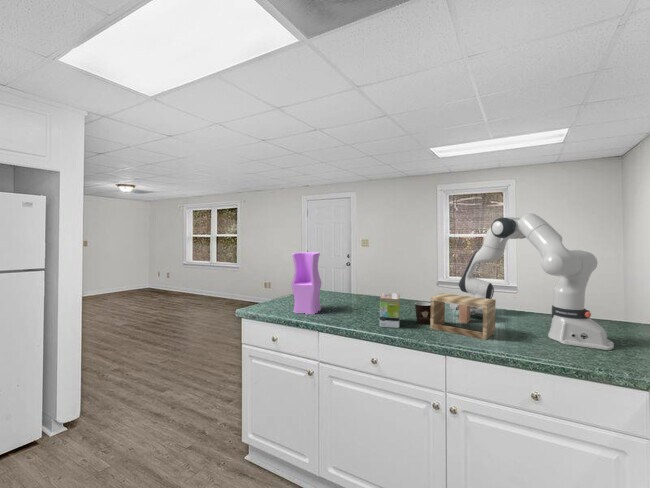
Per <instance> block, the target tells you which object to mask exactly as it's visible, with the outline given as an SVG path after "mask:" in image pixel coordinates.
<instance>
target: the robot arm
mask: <svg viewBox="0 0 650 488" xmlns="http://www.w3.org/2000/svg"><path fill="white" fill-rule="evenodd" d="M525 238H526V239H527V240H528V241H529V243H531V245H533V247H534V248H535V249H536V250H537V251H538V252H539V254H540V256H541V263H540V264H541V268H542V270H543V271H544V272H545V273H546V274H547V275H551V276H555V277H560V279H559V280H558V283H557V284H556V285H555V286H554V288H553V291H552V292H553V294H552V295H553V298H552V306H551V313H550V315H551V318H552V319H551V322H550V323H551V325H550V329H549V331H548V335H547V337H548V338H549V339H552V340H554V341H556V342H559V343H561V344H562V345H568V346H575V347H583V348H590V349H597V350H605V351H610V350H613V349H615V344H614V342H613V341H611V340H610V339H608V334H607V333H606V330H605V329H604V327H602V326H601V325H600V324H598V323H597V322H595V321H594V320H593V319H591V316H592V312H591V311H590V310H588V309H586V308H585V299H586V298H585V296H586V290H587V286H588V283H589V280H590V278H591V275H592V273H593V272H594V271H595V270H596V269H597V267H598V259H597V256H595V255H594V254H593V253H591V252H588V251H584V250H580V249H578V250H576V249H575V250H570V249H568V248H566V247H565V245H564V243H563V237H562V234H560V233H559V232H558V230H555V228H554V227H553V226H552V225H550V224H549V223H548V222H547V221H546V220H545V219H543V218H542V217H540V216H539V215H537V214H536V213H533V212H532V213H527V214H524V215H523V216H521V218H520V217H513V216H512V217H511V216H509V217H508V216H507V217H504V216H503V217H498V218H496V219H495V220H493V222H491V226H490V227H489V229H487V232H486V234H485V236H484V239H483V242H482V246H481V247H480V248H479V250H476V251H475V252H474V253H473V254H472V256H471V257H470V259H469V262H468V264H467V266H466V268H465V271H464V272H463V275H462V276H461V278H460V279H459V283H458V287H459V288H458V289H460V291H461V292H463V293H466V294H470V295H473V297H478V298H486V299H493V297H494V293H495V288H494V286H493V284H492V283H491V282H489V281H487V280H486V281H485V280H483V279H480V278H476V277H474V276H473V275H474V272H475V270H476V268H477V267H478V264H480V263H491V262H495V261H496V262H497V261H498V260H501V258H502V257H503V255H504V253H505V249H506V246H507V242H508V240H515V239H516V240H518V239H521V240H522V239H525ZM449 308H450V309H451V310H455V311H459V304H454V303H449ZM476 314H477V315H478V314H480V315H481V314H482V315H483V308H482V307H475V306H470V315H476Z"/></svg>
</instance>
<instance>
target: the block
mask: <svg viewBox="0 0 650 488" xmlns="http://www.w3.org/2000/svg"><path fill="white" fill-rule="evenodd" d="M469 321H470V322H471V313H470V306H468V305H461V304H459V310H458V322H459V323H464V324H468V323H469Z"/></svg>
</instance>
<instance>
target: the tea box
mask: <svg viewBox="0 0 650 488" xmlns="http://www.w3.org/2000/svg"><path fill="white" fill-rule="evenodd" d="M400 296H401V295H400V293H390V292H389V293H388V292H381V293H380V299H379V327H380V328H393V329H399V328H400V313H401V305H400V304H401V299H400Z"/></svg>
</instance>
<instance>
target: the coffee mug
mask: <svg viewBox="0 0 650 488" xmlns="http://www.w3.org/2000/svg"><path fill="white" fill-rule="evenodd" d="M414 307H415V315H416V317H415V318H416V323H417V324H419V325H429V324H431V302H428V301H427V302H426V301H418V302H415V303H414Z"/></svg>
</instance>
